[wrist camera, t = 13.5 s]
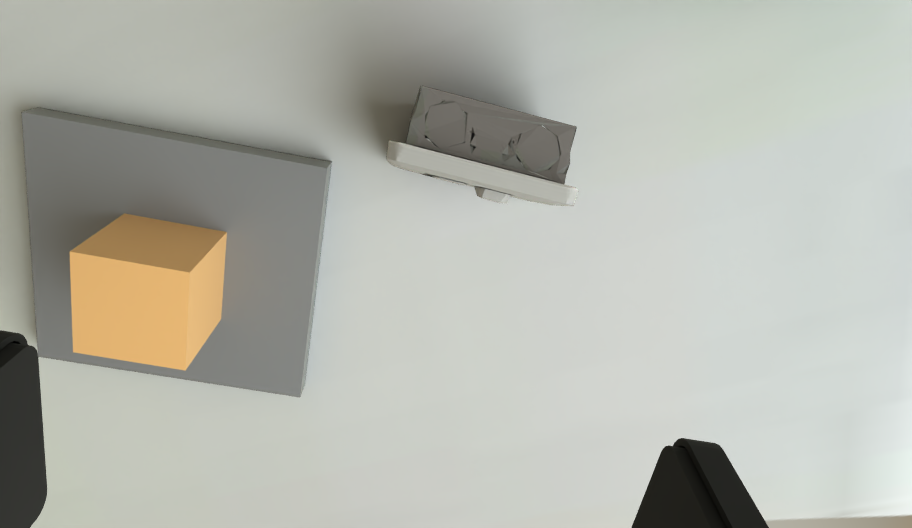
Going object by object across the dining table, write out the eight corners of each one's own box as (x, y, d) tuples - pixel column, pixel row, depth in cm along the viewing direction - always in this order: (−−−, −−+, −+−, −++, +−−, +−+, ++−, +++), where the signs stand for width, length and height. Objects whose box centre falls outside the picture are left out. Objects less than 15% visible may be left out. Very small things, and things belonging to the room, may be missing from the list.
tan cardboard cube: (124, 213, 38) (69, 251, 33) (226, 231, 39) (189, 272, 33) (124, 302, 41) (73, 352, 35) (221, 319, 41) (185, 370, 36)
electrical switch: (389, 162, 39) (375, 194, 30) (408, 75, 37) (401, 82, 29) (538, 200, 40) (567, 241, 31) (563, 117, 38) (602, 135, 30)
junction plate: (37, 107, 37) (-42, 130, 31) (331, 161, 39) (309, 193, 33) (51, 344, 44) (-13, 401, 38) (304, 384, 45) (282, 445, 39)
